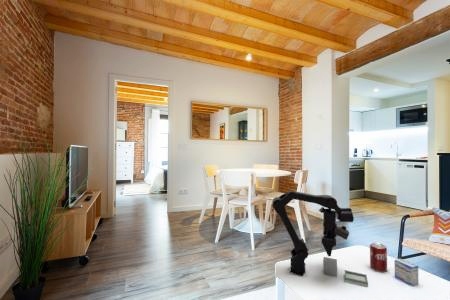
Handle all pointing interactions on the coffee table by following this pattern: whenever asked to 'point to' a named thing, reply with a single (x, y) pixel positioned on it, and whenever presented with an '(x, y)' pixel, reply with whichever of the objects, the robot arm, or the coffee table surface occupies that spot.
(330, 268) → the billet
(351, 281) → the grey green tray
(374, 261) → the soda can
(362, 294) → the coffee table surface
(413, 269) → the medicine box
